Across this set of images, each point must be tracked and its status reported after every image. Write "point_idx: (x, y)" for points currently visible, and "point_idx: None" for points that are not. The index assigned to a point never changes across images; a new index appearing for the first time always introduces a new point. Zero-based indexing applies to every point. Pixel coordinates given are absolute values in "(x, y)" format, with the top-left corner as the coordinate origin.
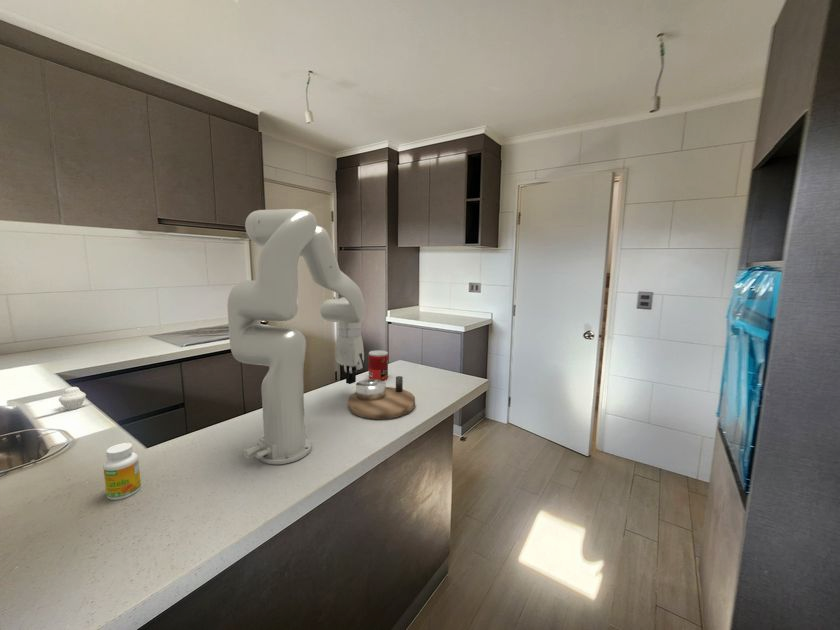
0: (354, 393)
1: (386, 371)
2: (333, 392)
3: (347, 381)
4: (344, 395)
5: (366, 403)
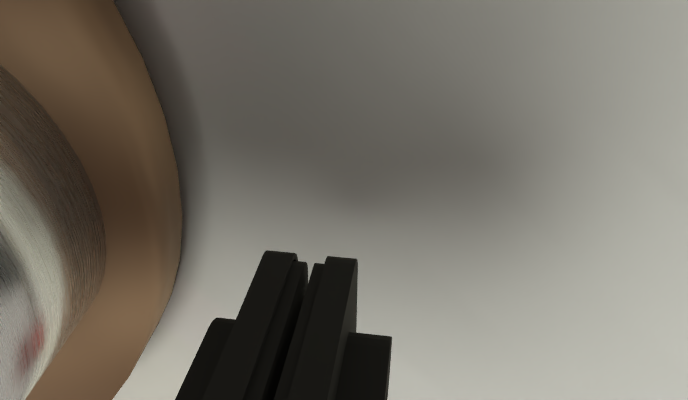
0: (99, 114)
1: None
2: (664, 121)
3: (314, 283)
4: (415, 125)
5: None
